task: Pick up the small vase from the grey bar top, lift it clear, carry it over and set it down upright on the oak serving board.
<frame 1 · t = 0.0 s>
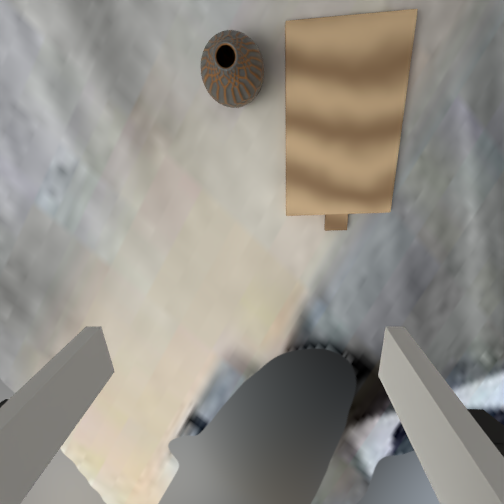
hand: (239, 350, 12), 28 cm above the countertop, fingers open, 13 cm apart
board: (340, 127, 34), on the countertop
vase: (236, 80, 33), on the countertop
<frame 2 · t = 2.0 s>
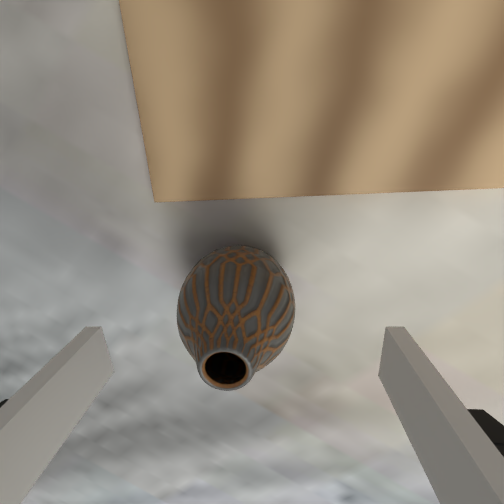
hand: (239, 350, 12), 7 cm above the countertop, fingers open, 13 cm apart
board: (336, 62, 14), on the countertop
vase: (242, 277, 20), on the countertop
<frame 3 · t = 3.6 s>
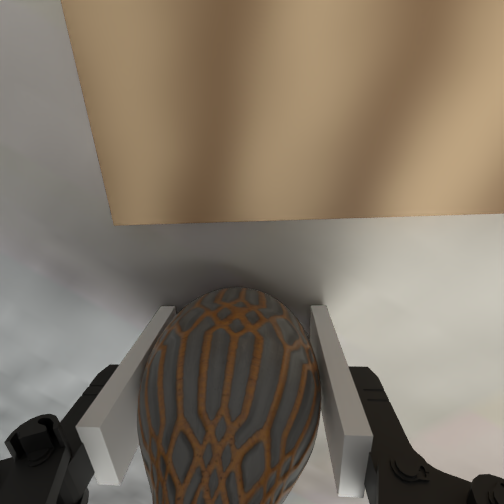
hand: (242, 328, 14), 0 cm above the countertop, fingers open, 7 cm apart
board: (390, 11, 9), on the countertop
vase: (242, 323, 14), on the countertop, touching gripper
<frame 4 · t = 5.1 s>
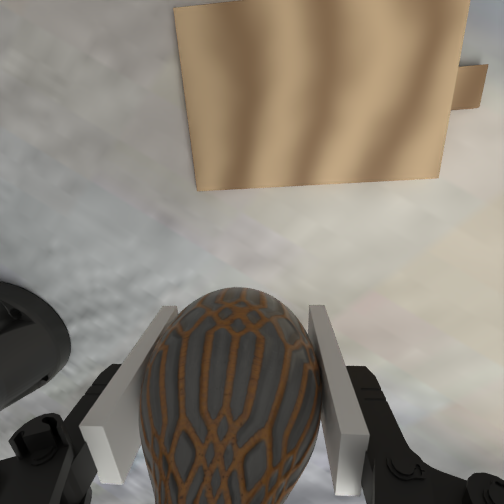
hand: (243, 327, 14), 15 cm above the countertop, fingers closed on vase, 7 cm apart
board: (312, 101, 23), on the countertop
vase: (243, 323, 14), point 15 cm above the countertop, touching gripper
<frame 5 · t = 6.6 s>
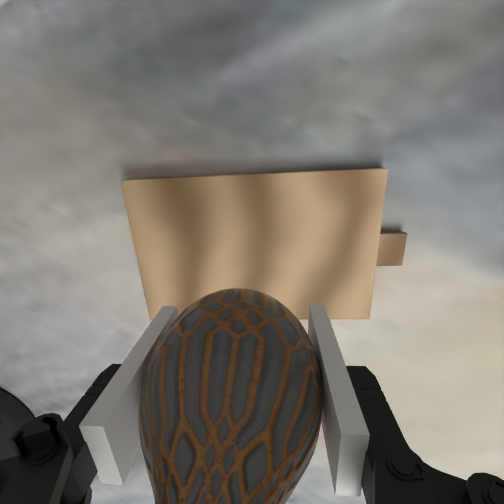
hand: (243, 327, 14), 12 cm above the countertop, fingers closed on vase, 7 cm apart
board: (253, 250, 25), on the countertop
vase: (243, 323, 14), point 12 cm above the countertop, touching gripper
when the fingers open (3 cm above the countertop, at t = 8.9 s): vase drops 1 cm, resting on board.
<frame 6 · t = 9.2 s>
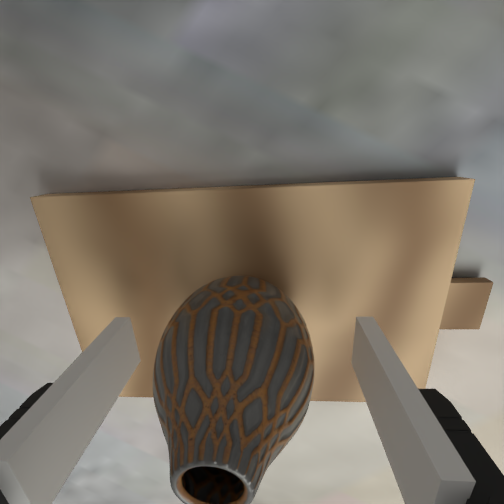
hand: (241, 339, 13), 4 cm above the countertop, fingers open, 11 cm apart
board: (247, 300, 17), on the countertop
vase: (245, 310, 16), point 1 cm above the countertop, touching board
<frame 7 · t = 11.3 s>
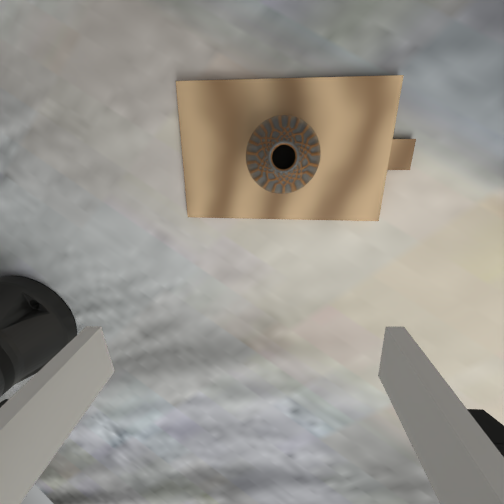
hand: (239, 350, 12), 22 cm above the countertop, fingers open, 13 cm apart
board: (282, 154, 29), on the countertop
vase: (282, 155, 28), point 1 cm above the countertop, touching board
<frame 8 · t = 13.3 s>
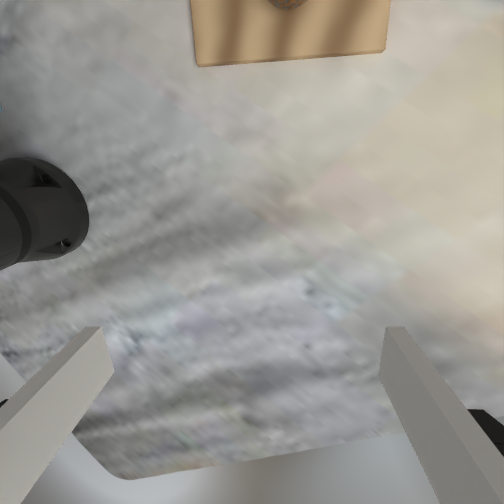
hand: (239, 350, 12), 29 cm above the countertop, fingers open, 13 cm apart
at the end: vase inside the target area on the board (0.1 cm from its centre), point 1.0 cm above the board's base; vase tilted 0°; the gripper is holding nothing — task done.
